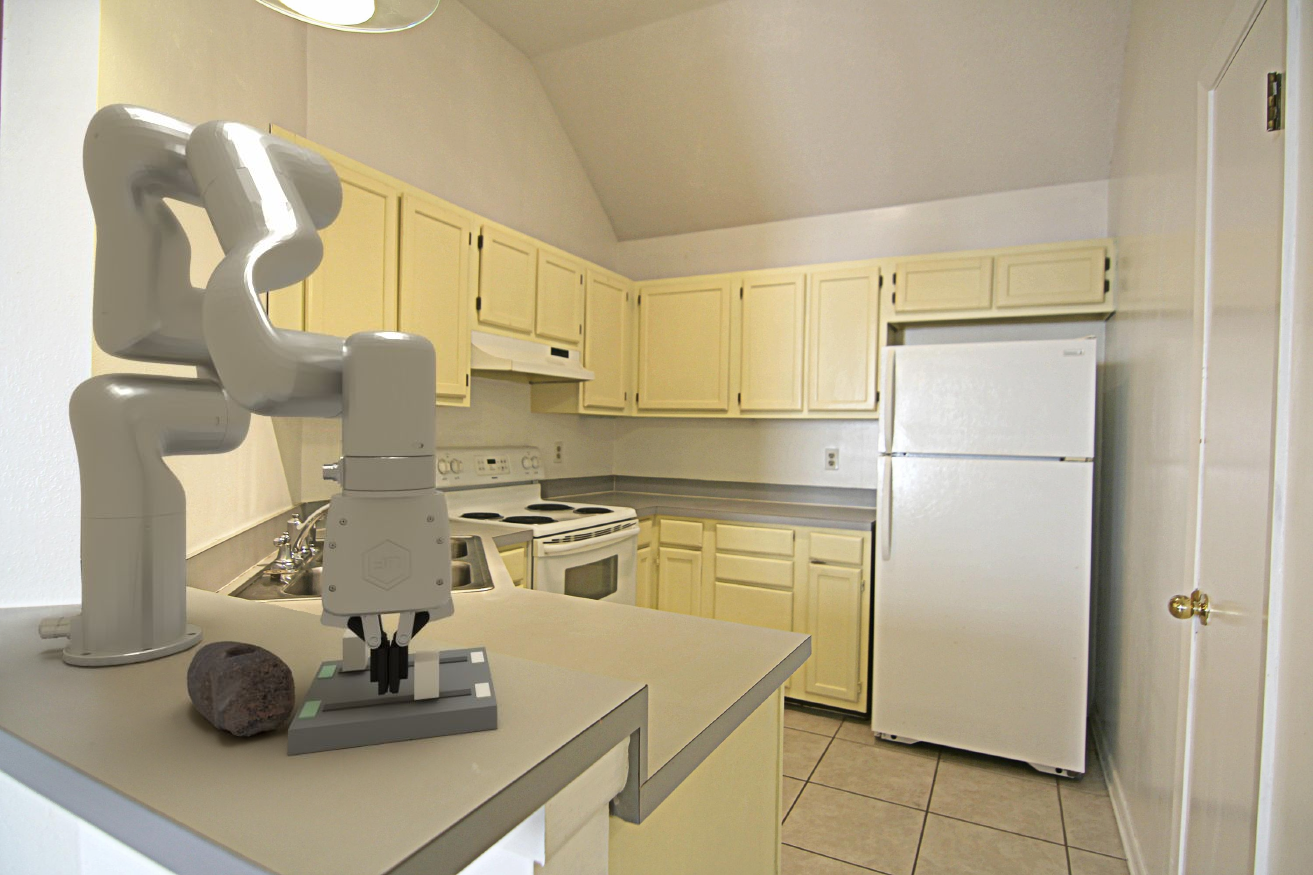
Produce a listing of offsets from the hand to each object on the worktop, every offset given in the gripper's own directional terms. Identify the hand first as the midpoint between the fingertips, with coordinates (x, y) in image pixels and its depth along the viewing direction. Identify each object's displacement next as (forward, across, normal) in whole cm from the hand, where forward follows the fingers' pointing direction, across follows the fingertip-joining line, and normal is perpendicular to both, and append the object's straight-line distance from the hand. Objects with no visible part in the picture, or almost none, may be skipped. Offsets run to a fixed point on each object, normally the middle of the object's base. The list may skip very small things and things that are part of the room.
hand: (389, 688), depth 58 cm
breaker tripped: (+1, +3, 0) cm, 3 cm away
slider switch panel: (+3, +1, +5) cm, 6 cm away
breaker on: (+1, -4, +9) cm, 10 cm away
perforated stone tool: (+4, -13, +5) cm, 15 cm away
